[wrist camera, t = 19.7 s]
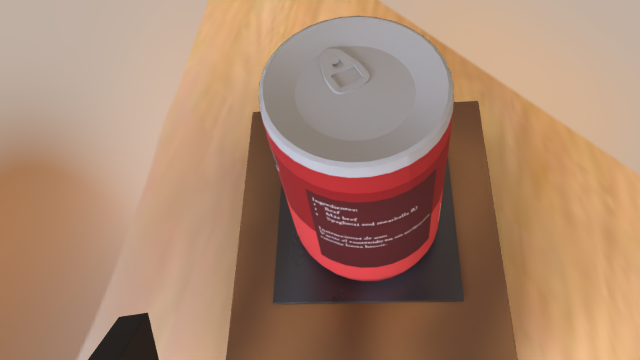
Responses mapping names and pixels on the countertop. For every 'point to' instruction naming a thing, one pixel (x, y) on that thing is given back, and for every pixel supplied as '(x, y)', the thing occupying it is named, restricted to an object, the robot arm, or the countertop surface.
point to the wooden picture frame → (373, 296)
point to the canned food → (360, 141)
